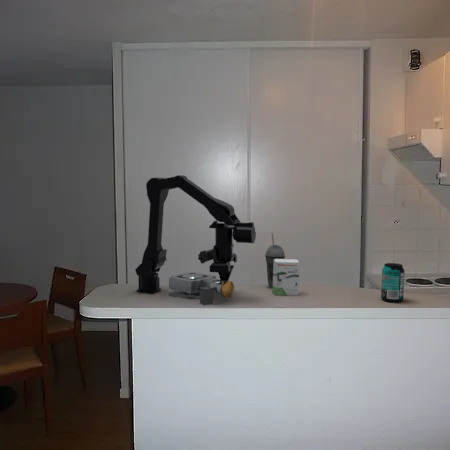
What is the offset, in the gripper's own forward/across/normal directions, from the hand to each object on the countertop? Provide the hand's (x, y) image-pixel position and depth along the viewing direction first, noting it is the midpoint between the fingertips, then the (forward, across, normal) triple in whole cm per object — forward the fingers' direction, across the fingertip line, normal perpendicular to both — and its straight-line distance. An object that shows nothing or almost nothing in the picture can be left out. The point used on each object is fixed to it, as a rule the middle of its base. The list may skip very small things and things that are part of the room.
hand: (224, 287), depth 168 cm
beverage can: (+4, -7, +55) cm, 56 cm away
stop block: (+3, +9, -4) cm, 11 cm away
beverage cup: (+4, -18, +16) cm, 24 cm away
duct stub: (+3, -2, -12) cm, 12 cm away
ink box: (+4, -9, +20) cm, 22 cm away
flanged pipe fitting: (+2, 0, -7) cm, 7 cm away
